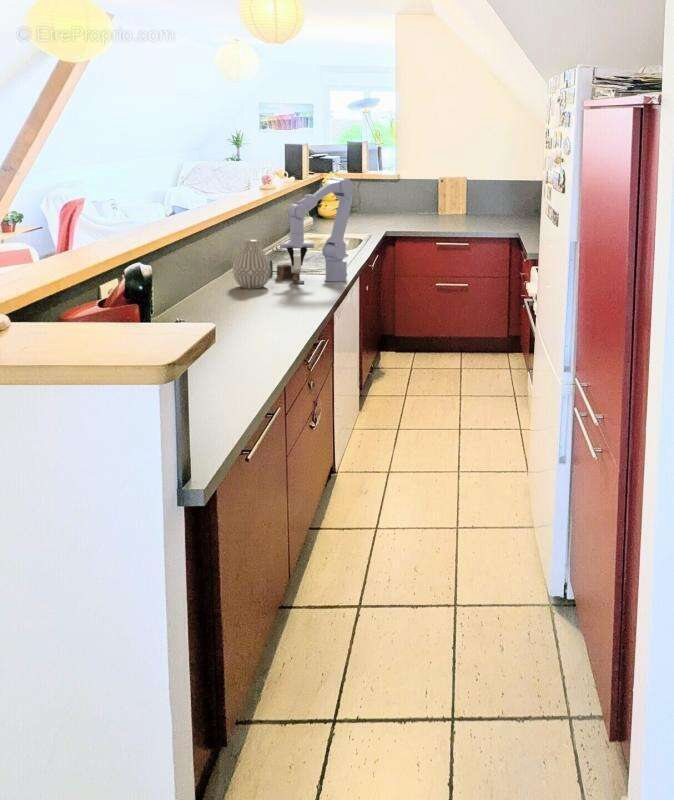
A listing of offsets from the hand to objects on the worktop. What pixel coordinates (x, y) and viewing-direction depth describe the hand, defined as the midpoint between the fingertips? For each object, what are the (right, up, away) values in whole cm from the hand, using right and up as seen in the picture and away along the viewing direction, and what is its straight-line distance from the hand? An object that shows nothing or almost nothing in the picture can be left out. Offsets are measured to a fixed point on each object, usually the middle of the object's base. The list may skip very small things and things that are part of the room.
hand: (297, 265), depth 421 cm
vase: (-19, -10, -5) cm, 22 cm away
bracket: (-17, -4, +15) cm, 23 cm away
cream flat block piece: (0, -2, +4) cm, 4 cm away
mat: (0, -7, +6) cm, 9 cm away
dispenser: (-4, -4, +17) cm, 18 cm away
